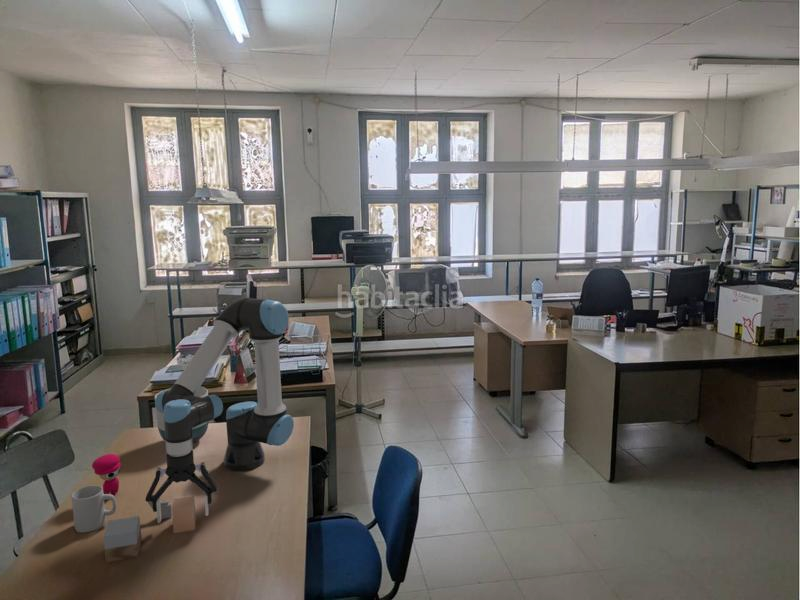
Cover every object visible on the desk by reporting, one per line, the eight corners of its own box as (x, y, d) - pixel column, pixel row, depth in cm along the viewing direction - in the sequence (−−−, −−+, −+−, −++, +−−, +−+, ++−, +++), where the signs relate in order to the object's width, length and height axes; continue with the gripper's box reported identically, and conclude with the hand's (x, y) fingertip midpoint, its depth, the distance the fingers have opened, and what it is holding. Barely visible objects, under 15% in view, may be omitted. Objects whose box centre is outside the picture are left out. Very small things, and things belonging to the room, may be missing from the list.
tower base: (141, 541, 161) (140, 528, 160) (137, 557, 153) (136, 544, 152) (111, 546, 158) (110, 533, 157) (105, 563, 151) (104, 550, 150)
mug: (70, 534, 163) (67, 501, 161) (79, 519, 171) (76, 486, 170) (114, 529, 166) (111, 495, 164) (121, 514, 174) (118, 482, 172)
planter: (151, 442, 228) (147, 393, 224) (198, 428, 241) (195, 382, 238) (169, 458, 213) (165, 406, 209) (219, 443, 227) (216, 394, 223)
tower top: (140, 528, 160) (139, 515, 160) (136, 544, 153) (135, 531, 152) (110, 533, 158) (108, 520, 157) (104, 549, 150) (103, 536, 150)
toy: (111, 505, 179) (107, 462, 177) (89, 502, 181) (85, 460, 178) (129, 492, 188) (125, 451, 185) (108, 489, 189) (104, 449, 187)
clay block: (195, 519, 171) (194, 495, 170) (195, 529, 166) (193, 505, 165) (175, 522, 170) (173, 498, 168) (173, 533, 164) (171, 509, 163)
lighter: (172, 514, 174) (170, 491, 173) (171, 517, 172) (169, 494, 171) (148, 518, 172) (146, 494, 171) (147, 521, 170) (145, 497, 169)
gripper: (223, 441, 171) (226, 504, 174) (136, 451, 163) (140, 516, 167) (223, 451, 164) (226, 516, 167) (132, 462, 156) (137, 530, 160)
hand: (183, 516), depth 167 cm, fingers open, 13 cm apart
